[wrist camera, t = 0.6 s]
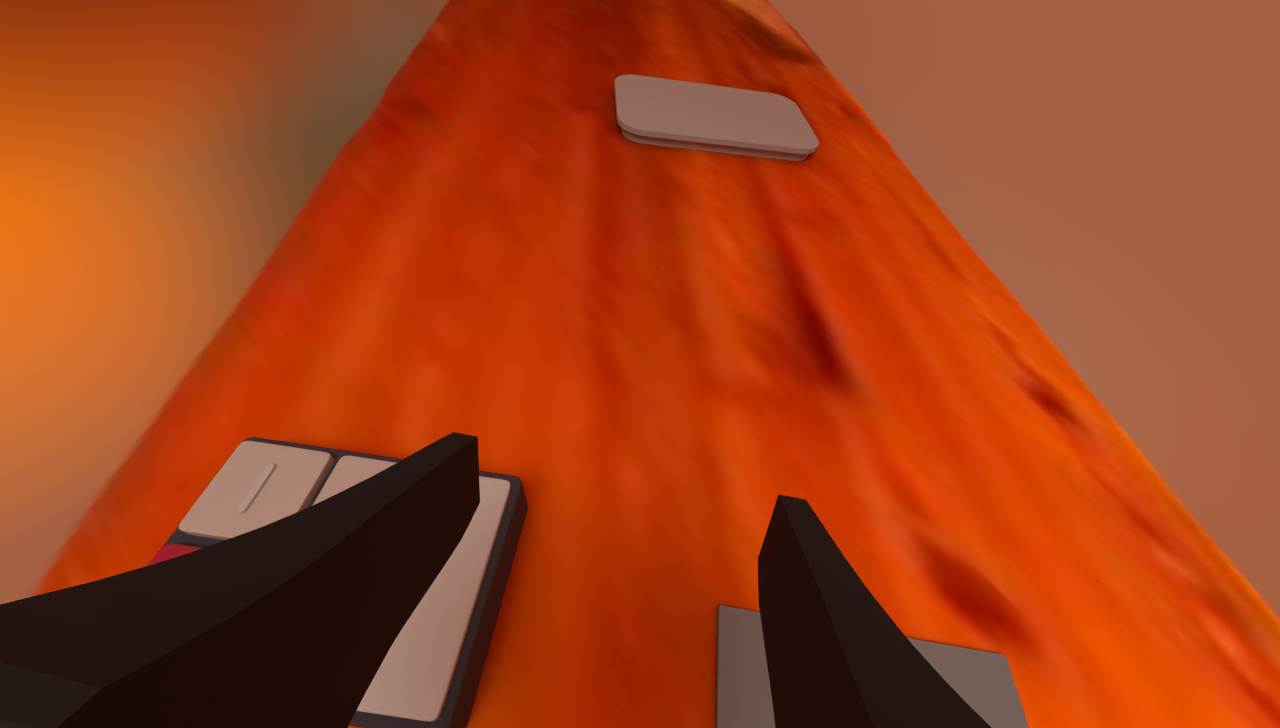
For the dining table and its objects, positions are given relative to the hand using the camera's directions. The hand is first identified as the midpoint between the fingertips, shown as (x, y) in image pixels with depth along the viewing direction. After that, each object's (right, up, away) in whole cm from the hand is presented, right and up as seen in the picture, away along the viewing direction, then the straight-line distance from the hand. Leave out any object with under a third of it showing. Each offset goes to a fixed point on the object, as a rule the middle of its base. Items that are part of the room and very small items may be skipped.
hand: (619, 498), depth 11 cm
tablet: (+10, +35, +52) cm, 63 cm away
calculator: (-14, -8, +13) cm, 21 cm away
